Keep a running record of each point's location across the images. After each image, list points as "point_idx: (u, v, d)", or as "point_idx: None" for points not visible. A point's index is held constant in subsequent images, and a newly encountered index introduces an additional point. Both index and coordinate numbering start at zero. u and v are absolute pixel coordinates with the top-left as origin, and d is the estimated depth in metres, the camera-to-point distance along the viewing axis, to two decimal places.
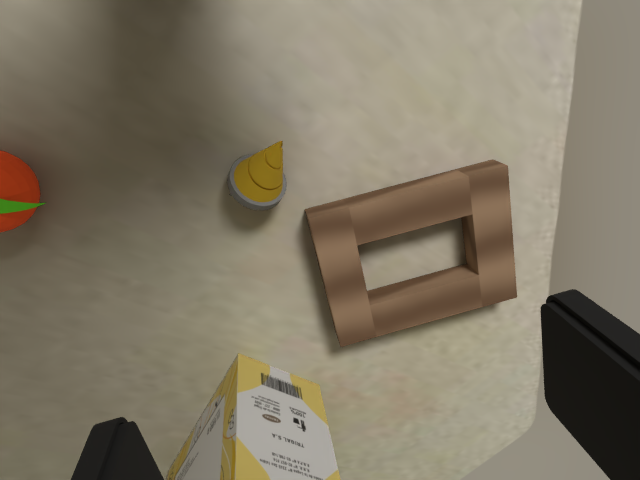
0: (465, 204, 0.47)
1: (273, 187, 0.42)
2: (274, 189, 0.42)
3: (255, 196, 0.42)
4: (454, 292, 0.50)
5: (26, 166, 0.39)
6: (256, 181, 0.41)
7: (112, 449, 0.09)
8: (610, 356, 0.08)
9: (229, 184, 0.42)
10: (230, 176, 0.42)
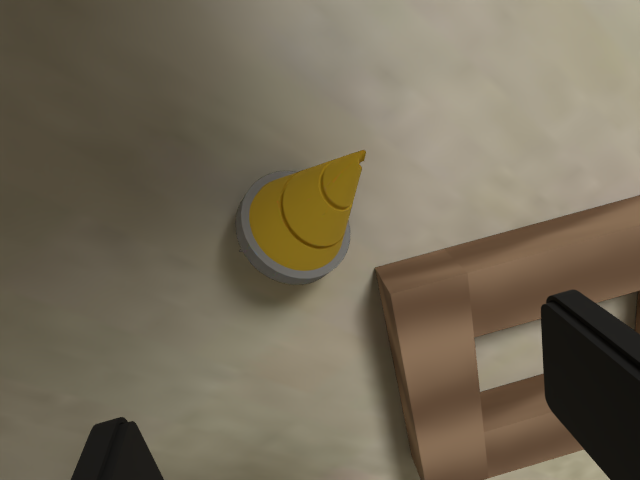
0: None
1: (331, 243, 0.20)
2: (332, 245, 0.20)
3: (294, 261, 0.20)
4: None
5: None
6: (298, 233, 0.19)
7: (112, 449, 0.09)
8: (610, 356, 0.08)
9: (240, 234, 0.21)
10: (242, 218, 0.21)
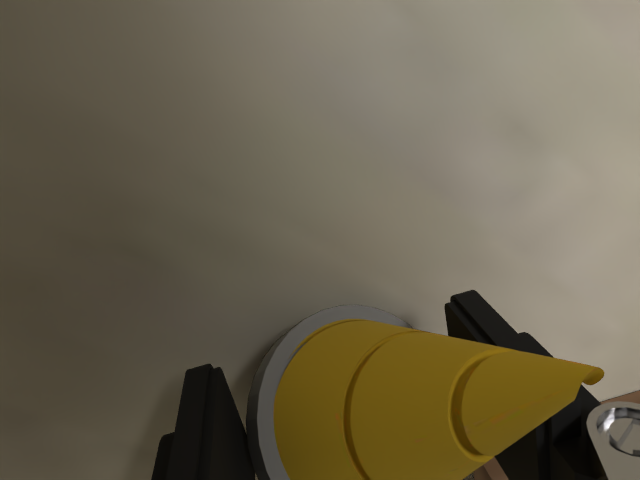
0: None
1: None
2: None
3: None
4: None
5: None
6: None
7: (208, 388, 0.10)
8: None
9: (256, 458, 0.10)
10: (259, 429, 0.10)
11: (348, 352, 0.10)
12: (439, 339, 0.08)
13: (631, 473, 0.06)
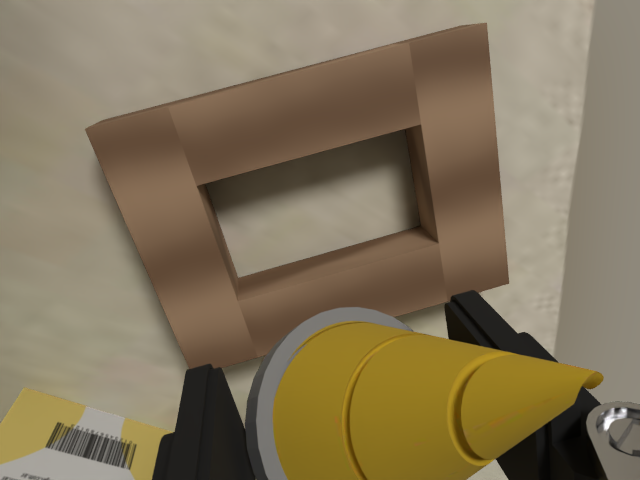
0: (406, 103, 0.24)
1: None
2: None
3: None
4: (394, 276, 0.28)
5: None
6: None
7: (208, 388, 0.10)
8: None
9: (255, 460, 0.10)
10: (258, 432, 0.10)
11: (347, 355, 0.10)
12: (438, 342, 0.08)
13: (631, 473, 0.06)
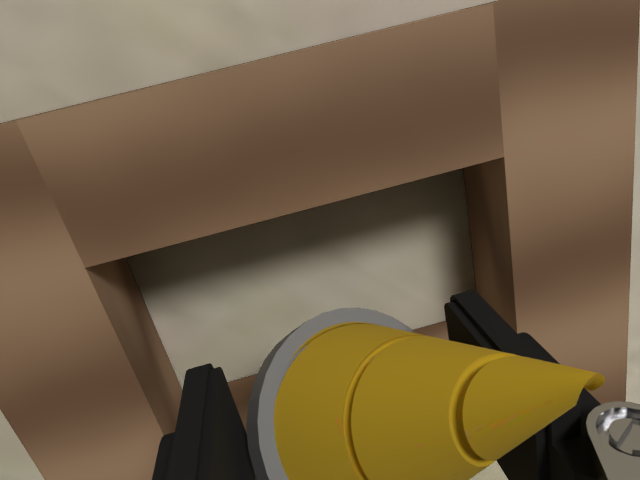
0: (479, 119, 0.13)
1: None
2: None
3: None
4: None
5: None
6: None
7: (208, 388, 0.10)
8: None
9: (256, 461, 0.10)
10: (260, 432, 0.10)
11: (349, 356, 0.10)
12: (440, 343, 0.08)
13: (630, 473, 0.06)
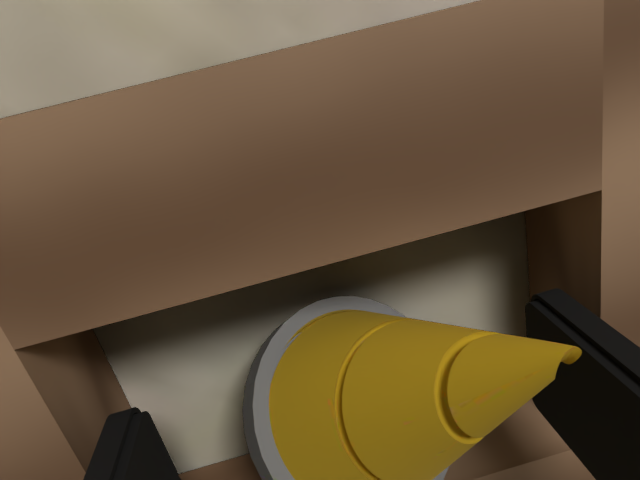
0: (572, 138, 0.09)
1: None
2: None
3: None
4: None
5: None
6: (378, 473, 0.09)
7: (127, 438, 0.09)
8: (589, 354, 0.08)
9: (252, 444, 0.10)
10: (255, 416, 0.10)
11: (341, 340, 0.10)
12: (428, 325, 0.09)
13: None
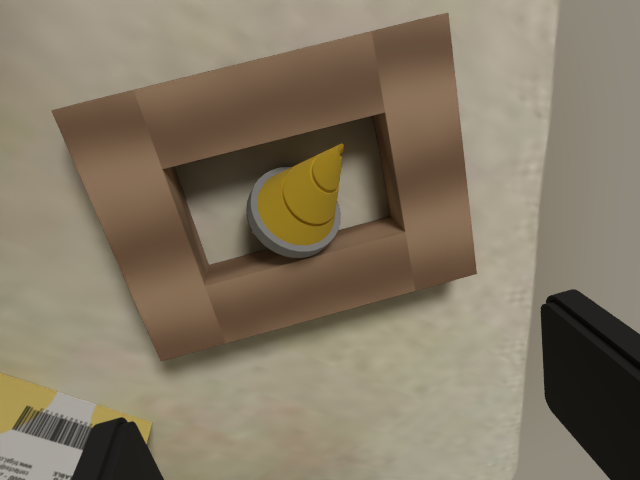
0: (369, 91, 0.24)
1: (323, 221, 0.25)
2: (324, 224, 0.25)
3: (294, 237, 0.25)
4: (361, 263, 0.28)
5: None
6: (296, 213, 0.24)
7: (112, 449, 0.09)
8: (610, 356, 0.08)
9: (250, 218, 0.26)
10: (251, 205, 0.26)
11: (285, 171, 0.25)
12: None
13: None
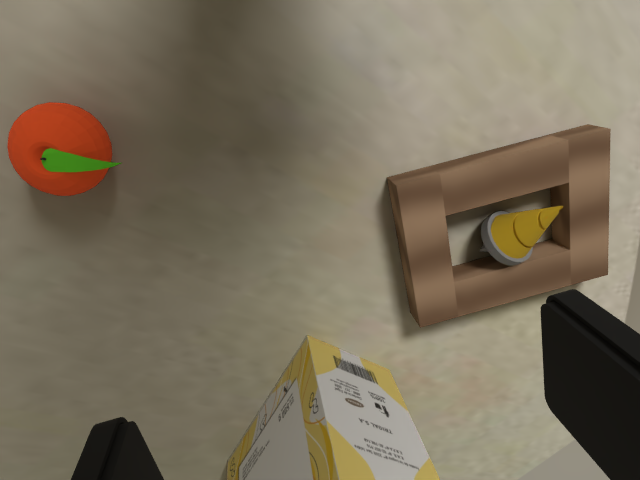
0: (562, 171, 0.43)
1: (533, 244, 0.44)
2: (531, 246, 0.44)
3: (515, 254, 0.44)
4: (542, 268, 0.47)
5: (99, 123, 0.36)
6: (522, 241, 0.43)
7: (112, 449, 0.09)
8: (610, 356, 0.08)
9: (487, 242, 0.44)
10: (488, 235, 0.44)
11: (510, 216, 0.44)
12: None
13: None
